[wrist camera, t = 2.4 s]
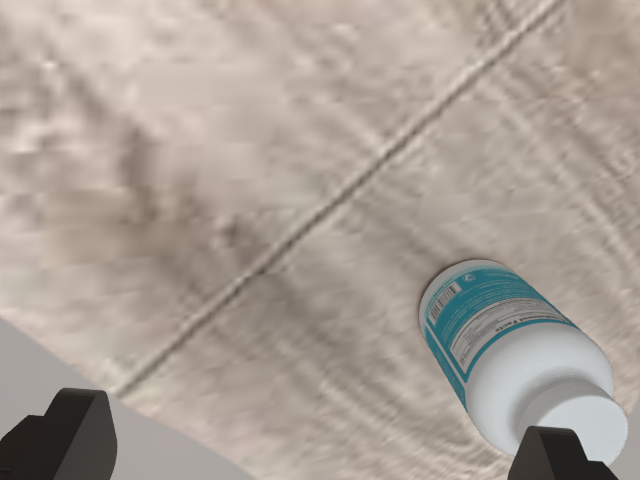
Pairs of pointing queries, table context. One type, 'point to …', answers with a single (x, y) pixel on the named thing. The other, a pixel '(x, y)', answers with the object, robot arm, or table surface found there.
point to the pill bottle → (519, 360)
